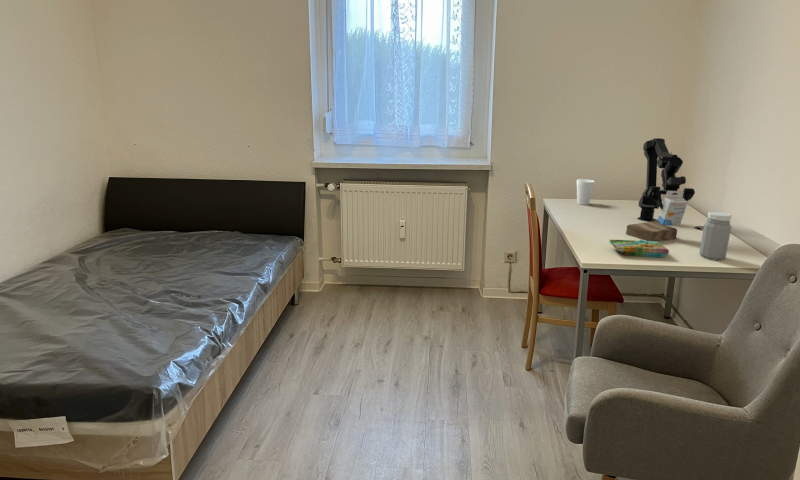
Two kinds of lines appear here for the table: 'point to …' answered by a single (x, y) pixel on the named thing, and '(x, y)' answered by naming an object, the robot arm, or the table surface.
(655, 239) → the walnut box
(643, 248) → the puzzle game
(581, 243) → the table surface
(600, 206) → the table surface
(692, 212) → the table surface
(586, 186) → the foam cup
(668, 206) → the ink box
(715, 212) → the jar
